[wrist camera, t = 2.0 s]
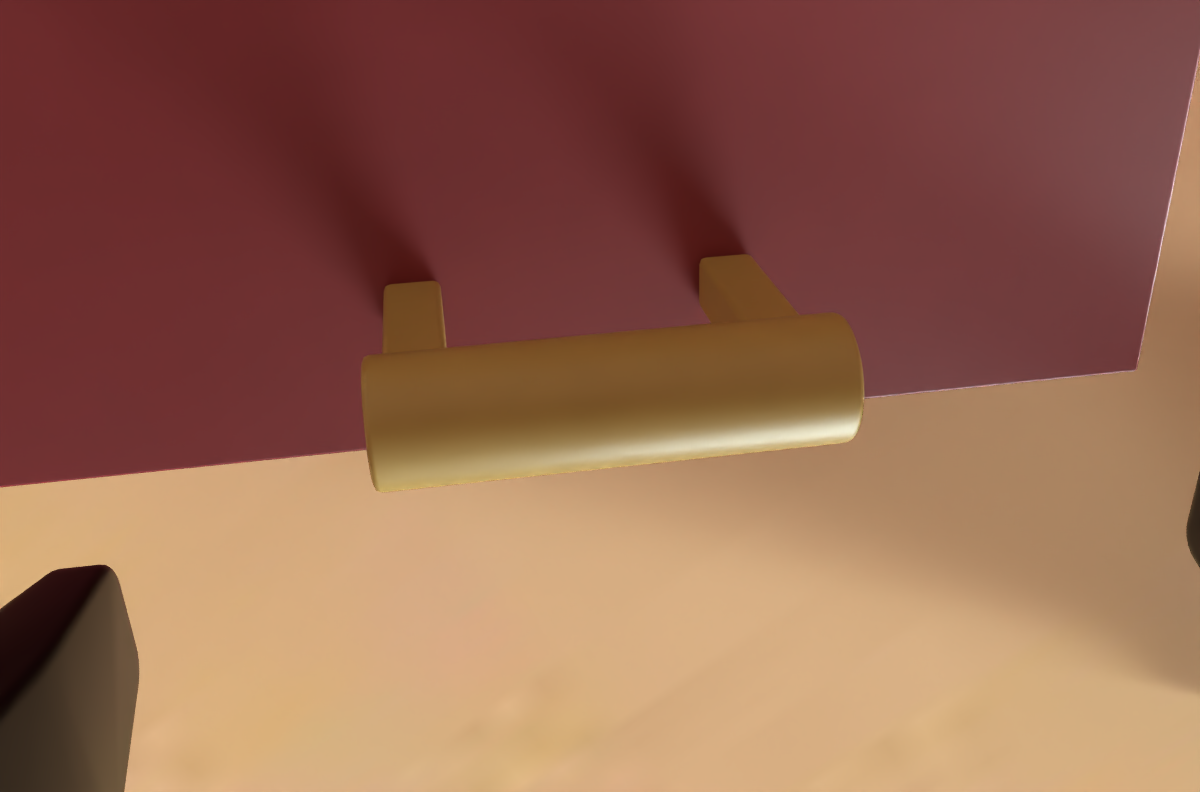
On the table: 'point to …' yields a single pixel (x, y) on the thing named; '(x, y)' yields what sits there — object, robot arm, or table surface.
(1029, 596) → the table surface
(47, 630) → the robot arm
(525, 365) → the cover
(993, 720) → the table surface
